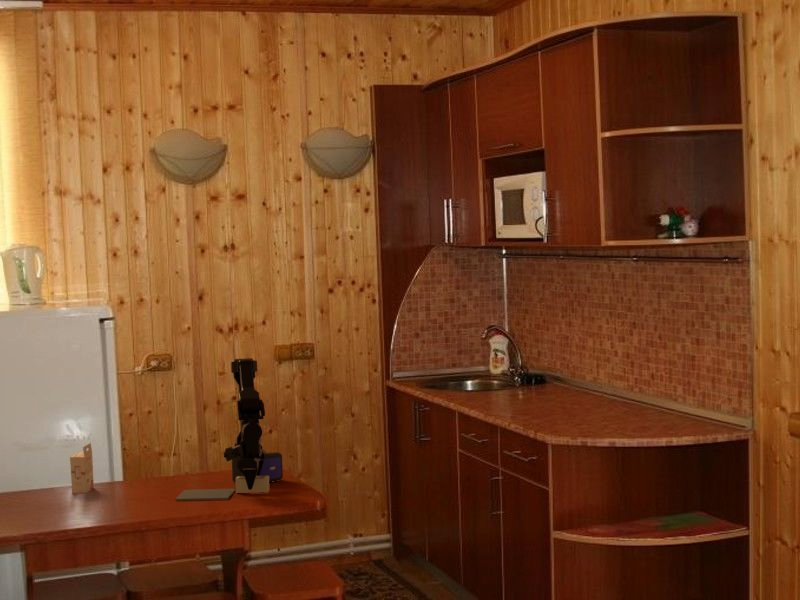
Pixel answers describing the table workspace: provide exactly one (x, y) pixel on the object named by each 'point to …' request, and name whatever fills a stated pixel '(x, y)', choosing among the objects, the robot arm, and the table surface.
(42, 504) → the table surface
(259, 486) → the block
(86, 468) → the ink cartridge box
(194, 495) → the mat
